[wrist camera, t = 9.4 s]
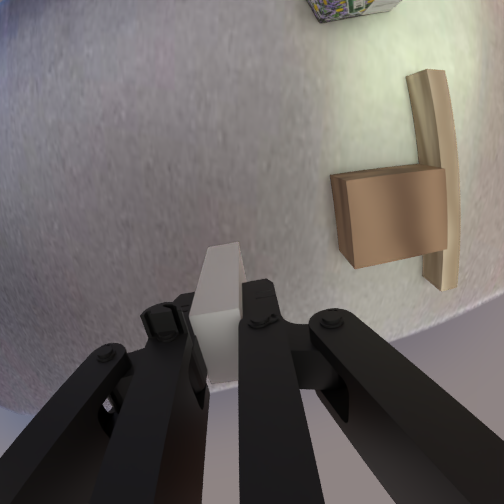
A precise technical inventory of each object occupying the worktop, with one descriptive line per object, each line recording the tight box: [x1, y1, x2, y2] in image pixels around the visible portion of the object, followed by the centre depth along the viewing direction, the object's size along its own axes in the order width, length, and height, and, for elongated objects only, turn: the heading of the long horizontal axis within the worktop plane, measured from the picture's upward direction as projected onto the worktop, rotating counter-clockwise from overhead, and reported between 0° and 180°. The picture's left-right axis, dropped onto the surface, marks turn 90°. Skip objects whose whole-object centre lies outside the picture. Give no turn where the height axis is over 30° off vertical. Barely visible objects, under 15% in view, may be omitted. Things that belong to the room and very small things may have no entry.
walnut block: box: [330, 164, 448, 269], centre depth 25 cm, size 9×7×5 cm
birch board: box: [406, 69, 460, 292], centre depth 25 cm, size 2×20×4 cm, turn 10°
